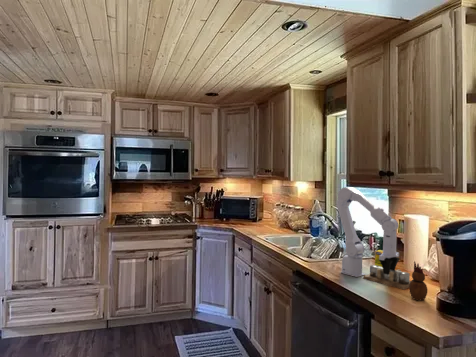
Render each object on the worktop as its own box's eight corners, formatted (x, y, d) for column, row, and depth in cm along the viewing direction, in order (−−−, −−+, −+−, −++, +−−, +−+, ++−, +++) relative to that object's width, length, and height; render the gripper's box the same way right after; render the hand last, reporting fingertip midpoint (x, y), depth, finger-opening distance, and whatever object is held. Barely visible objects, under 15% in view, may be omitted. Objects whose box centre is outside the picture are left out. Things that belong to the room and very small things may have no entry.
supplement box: (374, 272, 182) (374, 251, 182) (379, 270, 186) (379, 249, 186) (385, 274, 178) (386, 253, 177) (390, 272, 182) (391, 251, 182)
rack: (363, 278, 170) (363, 266, 170) (375, 274, 177) (375, 263, 177) (403, 289, 154) (404, 276, 154) (415, 285, 161) (416, 272, 161)
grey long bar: (367, 275, 172) (368, 265, 172) (372, 273, 174) (373, 264, 174) (406, 285, 157) (406, 275, 157) (411, 283, 159) (411, 273, 159)
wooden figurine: (406, 296, 145) (407, 260, 145) (419, 296, 146) (420, 260, 146) (415, 302, 139) (416, 264, 138) (429, 302, 139) (430, 264, 139)
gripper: (389, 247, 158) (389, 277, 158) (405, 244, 167) (404, 272, 167) (375, 245, 163) (374, 274, 163) (391, 242, 172) (390, 269, 172)
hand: (388, 273), depth 165 cm, fingers open, 4 cm apart
